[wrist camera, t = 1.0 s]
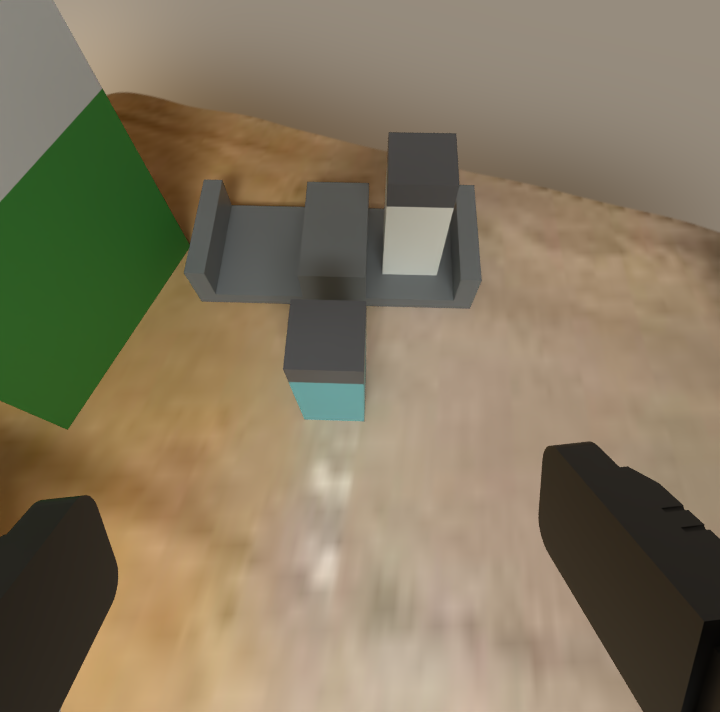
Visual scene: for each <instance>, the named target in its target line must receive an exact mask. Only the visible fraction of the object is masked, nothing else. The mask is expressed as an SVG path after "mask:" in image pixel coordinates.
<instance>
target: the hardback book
mask: <svg viewBox="0 0 720 712" xmlns="http://www.w3.org/2000/svg"><path fill="white" fill-rule="evenodd" d="M189 247H190V245H189V243H188V241H187V239H186V238H185V236H184V234H183V232H182V230H181V229H180V227H179V225H178V223H177V221H176V220H175V218H174V216H173V214H172V212H171V211H170V209H169V207H168V205H167V203H166V202H165V200H164V198H163V196H162V194H161V193H160V191H159V189H158V187H157V186H156V184H155V182H154V180H153V178H152V177H151V175H150V173H149V171H148V169H147V168H146V166H145V164H144V162H143V160H142V159H141V157H140V155H139V153H138V151H137V150H136V148H135V146H134V144H133V142H132V141H131V139H130V137H129V135H128V134H127V132H126V130H125V128H124V126H123V125H122V123H121V121H120V119H119V117H118V116H117V114H116V112H115V110H114V108H113V107H112V105H111V103H110V101H109V99H108V98H107V96H106V94H105V92H104V91H103V89H102V87H101V85H100V83H99V82H98V80H97V78H96V76H95V74H94V73H93V71H92V69H91V67H90V66H89V64H88V62H87V60H86V59H85V57H84V55H83V53H82V51H81V49H80V48H79V46H78V44H77V42H76V40H75V38H74V37H73V35H72V33H71V31H70V29H69V28H68V26H67V24H66V22H65V21H64V19H63V17H62V15H61V13H60V12H59V10H58V8H57V6H56V4H55V3H54V1H53V0H0V401H2V402H5V403H7V404H9V405H12V406H14V407H16V408H19V409H21V410H23V411H25V412H28V413H30V414H32V415H35V416H37V417H39V418H42V419H44V420H46V421H49V422H51V423H53V424H56V425H58V426H60V427H62V428H65V429H67V430H68V428H69V427H70V425H71V424H72V422H73V421H74V419H75V418H76V416H77V415H78V413H79V412H80V411H81V409H82V408H83V406H84V405H85V403H86V402H87V400H88V399H89V397H90V396H91V394H92V393H93V391H94V390H95V388H96V387H97V385H98V384H99V382H100V381H101V379H102V378H103V376H104V375H105V373H106V372H107V370H108V369H109V367H110V366H111V364H112V363H113V361H114V360H115V358H116V357H117V355H118V354H119V352H120V351H121V349H122V348H123V346H124V345H125V343H126V342H127V340H128V339H129V337H130V336H131V334H132V333H133V331H134V330H135V328H136V327H137V325H138V324H139V322H140V321H141V319H142V318H143V316H144V315H145V313H146V312H147V310H148V309H149V307H150V306H151V304H152V303H153V301H154V300H155V298H156V297H157V295H158V294H159V292H160V291H161V289H162V288H163V287H164V285H165V284H166V282H167V281H168V279H169V278H170V276H171V275H172V273H173V272H174V270H175V269H176V267H177V266H178V264H179V263H180V261H181V260H182V258H183V257H184V255H185V254H186V252H187V251H188V249H189Z"/></svg>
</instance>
